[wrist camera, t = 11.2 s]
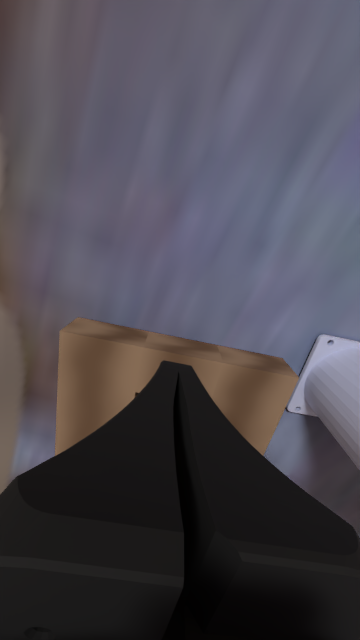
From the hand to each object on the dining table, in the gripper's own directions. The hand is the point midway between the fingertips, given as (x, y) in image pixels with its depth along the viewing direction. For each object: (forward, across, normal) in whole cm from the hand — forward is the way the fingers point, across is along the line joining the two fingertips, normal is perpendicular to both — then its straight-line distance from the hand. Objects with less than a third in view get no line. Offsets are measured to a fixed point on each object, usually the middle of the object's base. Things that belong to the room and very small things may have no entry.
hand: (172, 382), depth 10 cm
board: (+9, -1, +9) cm, 13 cm away
